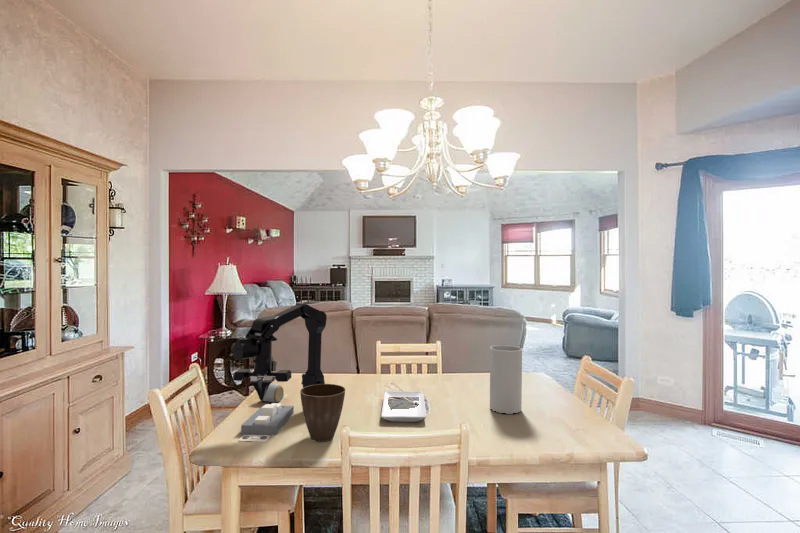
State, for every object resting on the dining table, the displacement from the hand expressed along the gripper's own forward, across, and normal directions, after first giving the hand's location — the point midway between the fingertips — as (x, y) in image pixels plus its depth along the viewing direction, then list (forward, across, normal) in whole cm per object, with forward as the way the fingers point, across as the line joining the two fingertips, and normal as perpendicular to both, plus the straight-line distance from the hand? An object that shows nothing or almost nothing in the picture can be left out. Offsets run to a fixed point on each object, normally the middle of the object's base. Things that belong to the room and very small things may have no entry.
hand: (262, 400), depth 146 cm
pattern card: (+11, 0, +7) cm, 13 cm away
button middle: (+8, 0, -7) cm, 11 cm away
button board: (+11, 0, -7) cm, 13 cm away
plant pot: (+11, -22, +4) cm, 25 cm away
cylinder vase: (+11, -90, -28) cm, 95 cm away
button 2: (+10, 0, -14) cm, 17 cm away
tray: (+11, -49, -24) cm, 56 cm away
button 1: (+10, 0, 0) cm, 10 cm away
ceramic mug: (+11, +7, -33) cm, 36 cm away
